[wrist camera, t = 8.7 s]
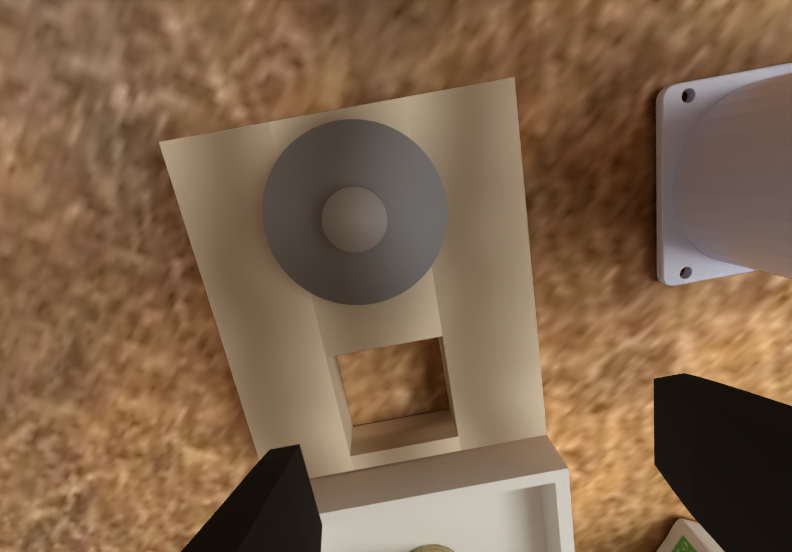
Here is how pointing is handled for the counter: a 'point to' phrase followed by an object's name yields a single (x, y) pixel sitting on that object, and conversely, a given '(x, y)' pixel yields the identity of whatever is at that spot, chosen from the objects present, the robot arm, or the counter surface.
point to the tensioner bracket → (369, 268)
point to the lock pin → (432, 548)
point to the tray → (452, 502)
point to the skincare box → (688, 539)
